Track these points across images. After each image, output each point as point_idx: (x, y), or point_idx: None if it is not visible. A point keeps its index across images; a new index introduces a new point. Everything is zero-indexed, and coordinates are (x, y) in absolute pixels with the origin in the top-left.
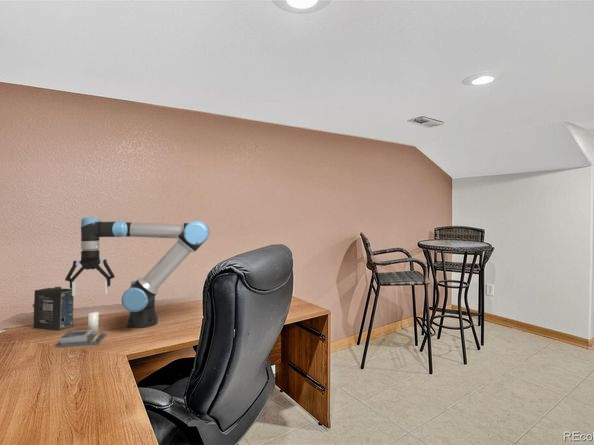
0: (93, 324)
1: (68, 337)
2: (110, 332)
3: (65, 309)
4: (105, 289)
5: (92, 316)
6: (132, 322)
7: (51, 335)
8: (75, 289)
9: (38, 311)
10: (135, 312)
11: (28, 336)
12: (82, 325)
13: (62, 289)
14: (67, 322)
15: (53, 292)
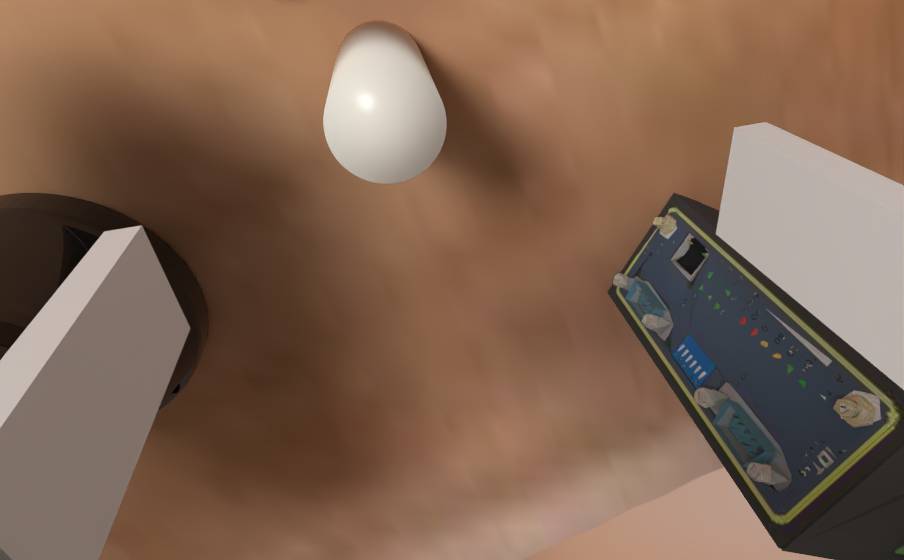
0: (358, 40)
1: None
2: (230, 82)
3: (723, 324)
4: (98, 281)
5: (371, 56)
6: (74, 226)
7: (702, 64)
8: (791, 268)
9: None
10: (12, 301)
11: (858, 63)
12: (545, 302)
13: (893, 537)
14: (650, 274)
15: None
